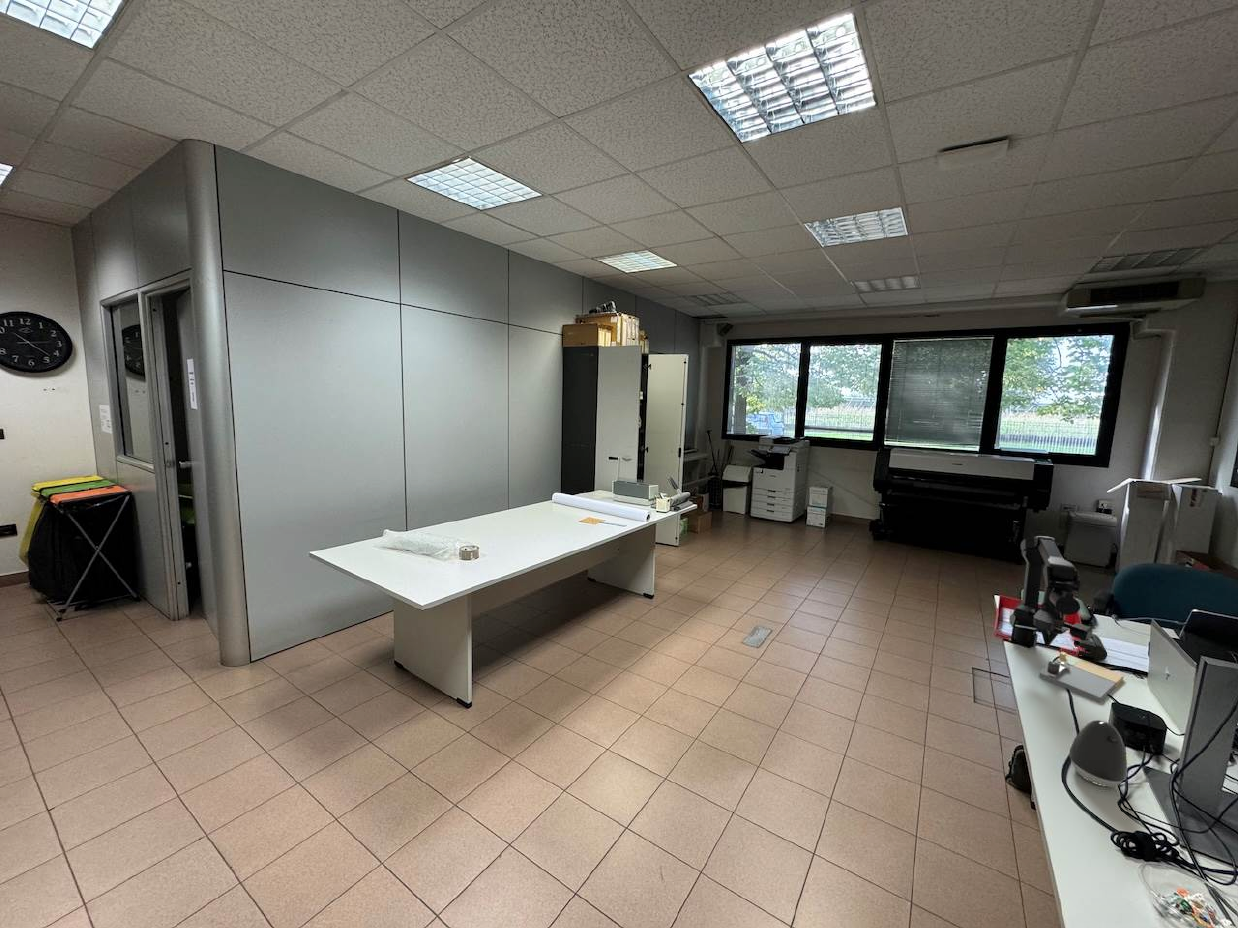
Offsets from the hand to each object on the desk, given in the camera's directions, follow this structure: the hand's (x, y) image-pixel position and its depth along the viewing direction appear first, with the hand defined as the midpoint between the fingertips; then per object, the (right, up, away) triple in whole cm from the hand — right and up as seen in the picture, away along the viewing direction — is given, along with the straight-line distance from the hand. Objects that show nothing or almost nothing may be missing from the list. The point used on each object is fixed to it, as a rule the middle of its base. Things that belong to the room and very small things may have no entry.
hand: (1047, 645), depth 161 cm
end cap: (+27, -9, +15) cm, 32 cm away
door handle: (+5, -9, +2) cm, 11 cm away
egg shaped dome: (-22, -19, -39) cm, 49 cm away
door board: (+12, -11, +1) cm, 17 cm away
